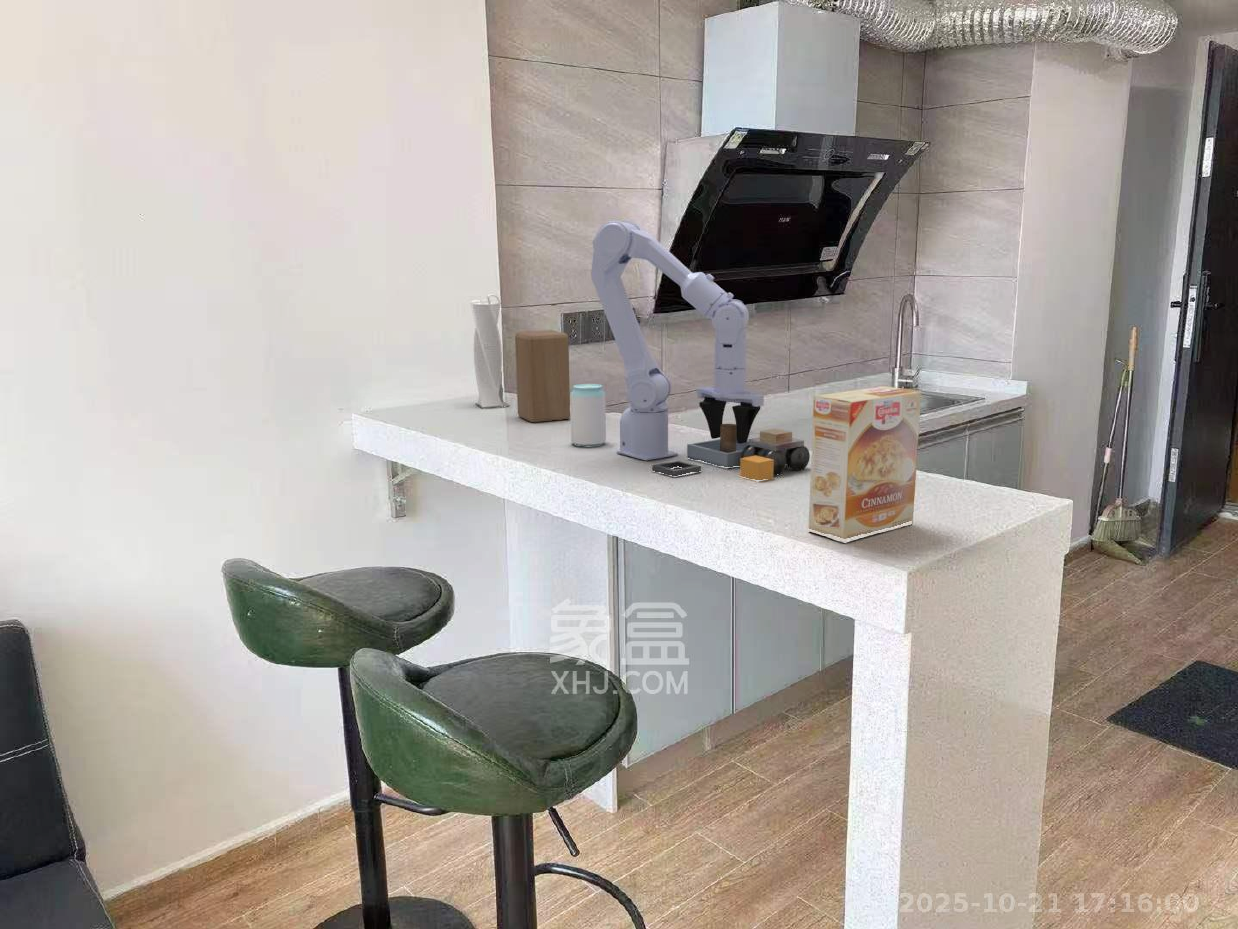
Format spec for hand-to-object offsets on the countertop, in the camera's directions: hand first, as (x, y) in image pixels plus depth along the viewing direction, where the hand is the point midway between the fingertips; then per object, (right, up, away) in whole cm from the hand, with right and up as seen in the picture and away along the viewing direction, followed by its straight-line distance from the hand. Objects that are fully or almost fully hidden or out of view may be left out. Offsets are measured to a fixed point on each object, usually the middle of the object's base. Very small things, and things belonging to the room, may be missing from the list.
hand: (728, 440), depth 181 cm
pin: (0, -3, +1) cm, 3 cm away
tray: (0, -4, +1) cm, 4 cm away
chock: (+3, -7, -13) cm, 15 cm away
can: (-27, -1, +16) cm, 31 cm away
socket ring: (-10, -6, -8) cm, 15 cm away
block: (-38, +6, +46) cm, 60 cm away
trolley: (+7, -5, -7) cm, 12 cm away
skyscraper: (-53, +10, +63) cm, 83 cm away
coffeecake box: (+14, -14, -43) cm, 47 cm away
